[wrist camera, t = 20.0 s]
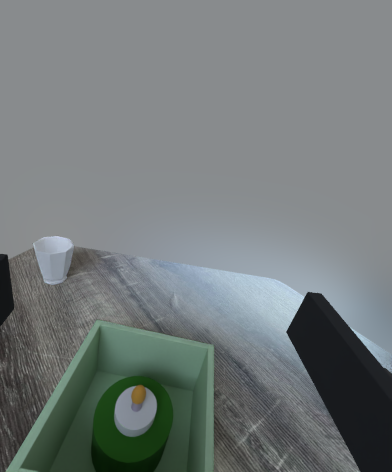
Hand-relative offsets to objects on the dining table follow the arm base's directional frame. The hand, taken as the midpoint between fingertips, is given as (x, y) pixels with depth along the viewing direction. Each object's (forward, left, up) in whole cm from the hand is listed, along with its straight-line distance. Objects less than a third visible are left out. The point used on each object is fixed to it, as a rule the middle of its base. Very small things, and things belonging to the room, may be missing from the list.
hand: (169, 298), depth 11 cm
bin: (-1, +6, -28) cm, 29 cm away
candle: (-1, +6, -27) cm, 28 cm away
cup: (-25, +32, -28) cm, 50 cm away
